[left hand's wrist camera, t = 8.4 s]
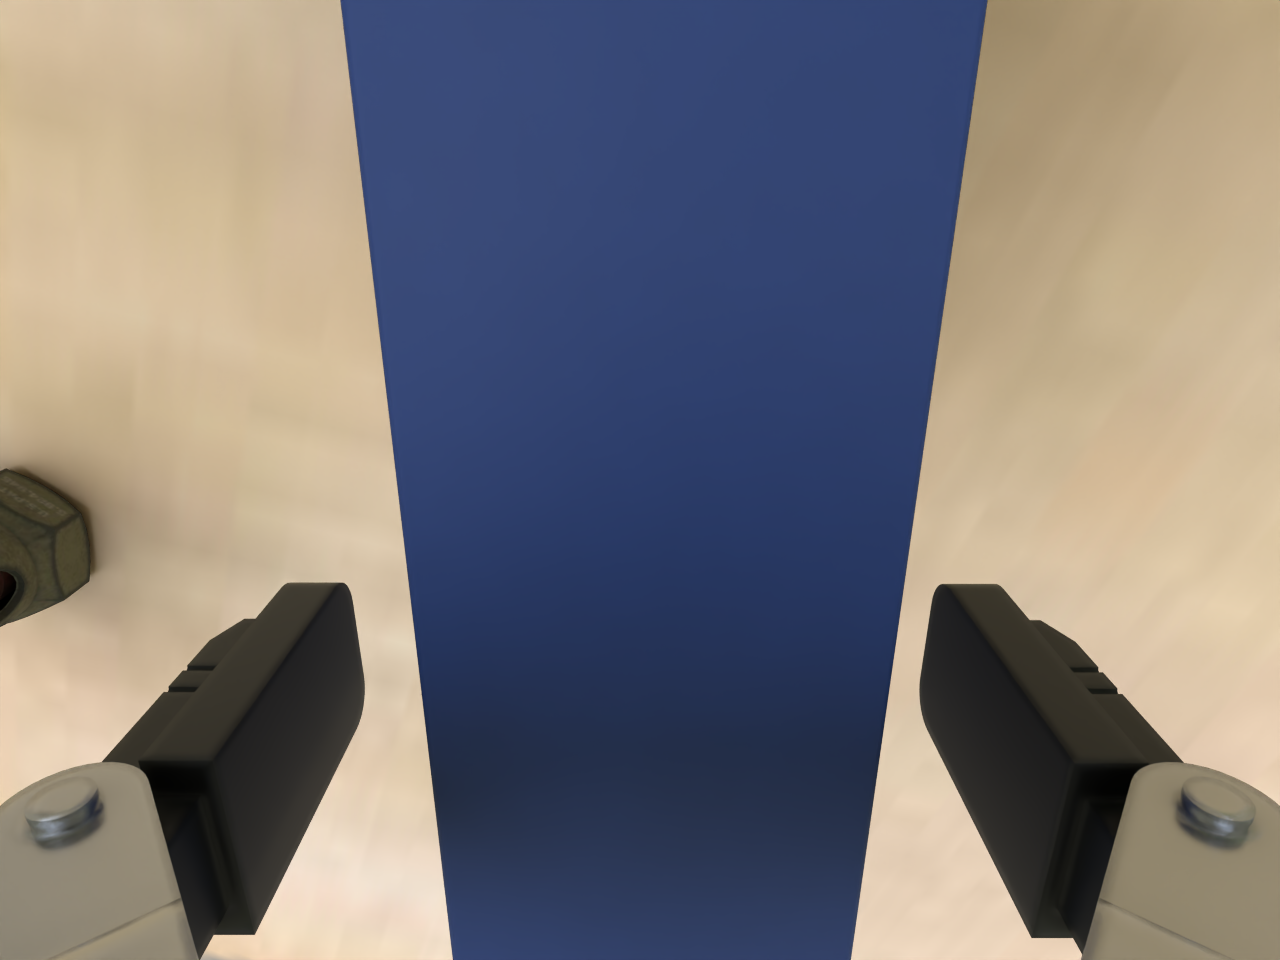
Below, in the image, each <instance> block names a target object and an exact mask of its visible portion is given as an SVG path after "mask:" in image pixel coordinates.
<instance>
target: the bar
mask: <svg viewBox="0 0 1280 960" xmlns="http://www.w3.org/2000/svg"><path fill="white" fill-rule="evenodd" d="M986 7H987V0H341V9H342V18H343V26H344V35H345V43H346V52H347V60H348V69H349V77H350V86H351V94H352V103H353V111H354V120H355V128H356V137H357V145H358V154H359V162H360V171H361V180H362V188H363V197H364V205H365V214H366V222H367V231H368V239H369V248H370V256H371V265H372V273H373V282H374V290H375V299H376V307H377V316H378V324H379V333H380V342H381V350H382V359H383V367H384V376H385V384H386V393H387V401H388V410H389V418H390V427H391V435H392V444H393V452H394V461H395V469H396V478H397V486H398V495H399V504H400V512H401V521H402V529H403V538H404V546H405V555H406V563H407V572H408V580H409V589H410V597H411V606H412V614H413V623H414V631H415V640H416V648H417V657H418V665H419V674H420V683H421V691H422V700H423V708H424V717H425V725H426V734H427V742H428V751H429V759H430V768H431V776H432V785H433V793H434V802H435V810H436V819H437V827H438V836H439V845H440V853H441V862H442V870H443V879H444V887H445V896H446V904H447V913H448V921H449V930H450V938H451V947H452V955H453V960H851V954H852V947H853V940H854V933H855V926H856V919H857V912H858V905H859V898H860V891H861V884H862V877H863V870H864V863H865V856H866V849H867V842H868V835H869V828H870V821H871V814H872V807H873V800H874V793H875V786H876V779H877V772H878V765H879V758H880V751H881V744H882V737H883V730H884V723H885V716H886V709H887V702H888V695H889V688H890V681H891V674H892V667H893V660H894V653H895V646H896V639H897V632H898V625H899V618H900V611H901V603H902V596H903V589H904V582H905V575H906V568H907V561H908V554H909V547H910V540H911V533H912V526H913V519H914V512H915V505H916V498H917V491H918V484H919V477H920V470H921V463H922V456H923V449H924V442H925V435H926V428H927V421H928V414H929V407H930V400H931V393H932V386H933V379H934V372H935V365H936V358H937V351H938V344H939V337H940V330H941V323H942V316H943V309H944V302H945V295H946V288H947V281H948V274H949V267H950V260H951V253H952V246H953V239H954V232H955V225H956V218H957V211H958V204H959V197H960V190H961V183H962V176H963V169H964V162H965V155H966V148H967V141H968V134H969V127H970V120H971V113H972V106H973V99H974V92H975V85H976V78H977V71H978V63H979V56H980V49H981V42H982V35H983V28H984V21H985V14H986Z"/></svg>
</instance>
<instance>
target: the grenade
mask: <svg viewBox="0 0 1280 960" xmlns="http://www.w3.org/2000/svg"><path fill="white" fill-rule="evenodd" d="M89 577H90V546H89V540H88V535H87V530H86V526H85V523H84V521H83V518H82V515H81V513H80V512H79V511H78V510H77V509H75V508H74V507H73V506H72V505H71V504H70V503H69V502H67V501H66V500H65V499H63V498H62V497H60V496H59V495H58V494H56V493H55V492H53V491H52V490H50V489H49V488H47V487H45V486H43V485H41V484H39V483H37V482H36V481H34V480H32V479H30V478H28V477H25V476H23V475H21V474H18V473H16V472H13V471H11V470H9V469H4V470H1V471H0V627H1V626H3V625H5V624H7V623H11V622H14V621H17V620H19V619H22V618H25V617H28V616H30V615H32V614H35V613H37V612H39V611H42V610H44V609H46V608H49V607H51V606H53V605H55V604H57V603H59V602H61V601H64V600H65V599H67V598H68V597H69V596H70V595H72V594H73V593H74V592H76V591H77V590H78V589H80V588H81V587H82V586H84V585H85V584H86V583H87V582H89Z"/></svg>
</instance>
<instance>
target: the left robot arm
mask: <svg viewBox="0 0 1280 960" xmlns="http://www.w3.org/2000/svg"><path fill="white" fill-rule="evenodd" d="M364 695H365V683H364V674H363V667H362V660H361V654H360V647H359V640H358V634H357V627H356V620H355V614H354V607H353V601H352V596H351V592H350V590H349V588H348V586H347V585H346V584H345V583H287V584H285V585H284V586H283V587H282V588H281V589H280V590H279V591H278V593H277V594H276V595H275V596H274V597H273V599H272V600H271V601H270V602H269V603H268V605H267V606H266V607H265V608H264V609H263V611H262V612H261V613H260V614H259V615H258V617H257V618H256V619H244V620H242V621H240V622H239V623H237V624H235V625H234V626H232V627H231V628H229V629H227V630H226V631H224V632H223V633H221V634H219V635H218V636H216V637H214V638H213V639H211V640H210V641H209V642H208V643H207V644H206V645H205V646H204V648H203V649H202V650H201V651H200V652H199V653H198V654H197V655H196V657H195V658H194V659H193V660H192V661H191V662H190V663H189V664H188V668H187V671H182V672H181V673H180V675H179V676H178V677H177V678H176V679H175V680H174V681H173V682H172V684H171V685H170V686H169V691H168V692H164V693H163V694H162V695H161V696H160V697H159V698H158V699H157V700H156V702H155V703H154V704H153V705H152V706H151V707H150V708H149V709H148V711H147V712H146V713H145V714H144V715H143V716H142V717H141V718H140V720H139V721H138V722H137V723H136V724H135V725H134V726H133V727H132V729H131V730H130V731H129V732H128V733H127V734H126V735H125V736H124V738H123V739H122V740H121V741H120V742H119V743H118V744H117V745H116V747H115V748H114V749H113V750H112V751H111V752H110V753H109V754H108V756H107V757H106V758H105V759H104V760H103V761H102V762H100V763H93V764H86V765H82V766H78V767H74V768H70V769H67V770H64V771H61V772H58V773H56V774H53V775H51V776H48V777H46V778H44V779H42V780H39V781H37V782H35V783H33V784H31V785H30V786H28V787H26V788H25V789H23V790H21V791H19V792H18V793H17V794H15V795H14V796H12V797H11V798H9V799H8V800H7V801H5V802H4V803H3V804H2V805H1V806H0V960H200V959H201V957H202V955H203V953H204V951H205V950H206V948H207V946H208V944H209V942H210V940H211V939H212V937H213V935H255V933H256V931H257V929H258V927H259V925H260V923H261V921H262V919H263V917H264V915H265V913H266V911H267V909H268V907H269V905H270V903H271V901H272V899H273V897H274V895H275V893H276V891H277V889H278V887H279V885H280V883H281V881H282V879H283V877H284V875H285V873H286V871H287V868H288V866H289V864H290V862H291V860H292V858H293V856H294V854H295V852H296V850H297V848H298V846H299V844H300V842H301V840H302V838H303V836H304V834H305V832H306V830H307V828H308V826H309V824H310V822H311V820H312V818H313V816H314V814H315V812H316V810H317V808H318V806H319V804H320V802H321V800H322V798H323V796H324V794H325V792H326V790H327V788H328V786H329V784H330V782H331V780H332V778H333V776H334V774H335V772H336V770H337V767H338V765H339V763H340V761H341V759H342V757H343V755H344V753H345V751H346V749H347V747H348V745H349V743H350V741H351V739H352V737H353V735H354V733H355V731H356V729H357V727H358V725H359V722H360V719H361V715H362V711H363V705H364ZM920 705H921V711H922V716H923V720H924V723H925V726H926V728H927V730H928V732H929V734H930V736H931V738H932V740H933V742H934V744H935V746H936V748H937V750H938V752H939V754H940V756H941V758H942V760H943V762H944V764H945V766H946V768H947V770H948V772H949V774H950V776H951V778H952V780H953V782H954V784H955V786H956V788H957V790H958V792H959V794H960V796H961V798H962V800H963V802H964V804H965V806H966V808H967V810H968V812H969V814H970V816H971V818H972V820H973V822H974V824H975V826H976V828H977V830H978V832H979V834H980V836H981V838H982V840H983V842H984V844H985V846H986V848H987V850H988V852H989V854H990V856H991V858H992V860H993V862H994V864H995V866H996V868H997V870H998V872H999V874H1000V876H1001V878H1002V880H1003V882H1004V884H1005V886H1006V888H1007V890H1008V892H1009V894H1010V896H1011V898H1012V900H1013V902H1014V904H1015V906H1016V908H1017V910H1018V912H1019V914H1020V916H1021V918H1022V920H1023V922H1024V924H1025V926H1026V928H1027V930H1028V932H1029V934H1030V936H1031V938H1073V939H1074V940H1075V942H1076V944H1077V946H1078V948H1079V949H1080V951H1081V953H1082V958H1081V960H1280V806H1279V805H1278V804H1277V803H1276V802H1275V801H1273V800H1272V799H1271V798H1269V797H1268V796H1266V795H1265V794H1263V793H1262V792H1260V791H1259V790H1257V789H1255V788H1254V787H1252V786H1250V785H1249V784H1247V783H1245V782H1243V781H1241V780H1238V779H1236V778H1234V777H1232V776H1229V775H1227V774H1224V773H1222V772H1219V771H1216V770H1213V769H1210V768H1206V767H1202V766H1198V765H1194V764H1187V763H1184V762H1183V761H1182V760H1181V759H1180V758H1179V757H1178V756H1177V755H1176V753H1175V752H1174V751H1173V750H1172V749H1171V748H1170V747H1169V746H1168V745H1167V743H1166V742H1165V741H1164V740H1163V739H1162V738H1161V737H1160V736H1159V735H1158V733H1157V732H1156V731H1155V730H1154V729H1153V728H1152V727H1151V726H1150V724H1149V723H1148V722H1147V721H1146V720H1145V719H1144V718H1143V717H1142V716H1141V714H1140V713H1139V712H1138V711H1137V710H1136V709H1135V708H1134V707H1133V706H1132V704H1131V703H1130V702H1129V701H1128V700H1127V699H1126V698H1125V697H1124V696H1123V694H1118V692H1117V688H1116V687H1115V685H1114V684H1113V683H1112V682H1111V681H1110V680H1109V679H1108V678H1107V677H1106V675H1105V674H1104V673H1103V672H1101V673H1099V671H1098V667H1097V665H1096V664H1095V663H1094V662H1093V661H1092V660H1091V659H1090V658H1089V656H1088V655H1087V654H1086V653H1085V652H1084V651H1083V650H1082V649H1081V648H1080V646H1079V645H1078V644H1077V643H1076V642H1075V641H1073V640H1071V639H1070V638H1068V637H1067V636H1065V635H1063V634H1062V633H1060V632H1059V631H1057V630H1055V629H1054V628H1052V627H1050V626H1049V625H1047V624H1046V623H1044V622H1042V621H1041V620H1029V619H1028V618H1027V617H1026V615H1025V614H1024V613H1023V612H1022V611H1021V609H1020V608H1019V607H1018V606H1017V605H1016V603H1015V602H1014V601H1013V600H1012V599H1011V598H1010V596H1009V595H1008V594H1007V593H1006V592H1005V590H1004V589H1003V588H1002V587H1001V586H999V585H997V584H941V585H939V586H938V587H937V588H936V590H935V592H934V595H933V599H932V604H931V611H930V618H929V624H928V631H927V637H926V644H925V650H924V657H923V664H922V670H921V677H920Z"/></svg>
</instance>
